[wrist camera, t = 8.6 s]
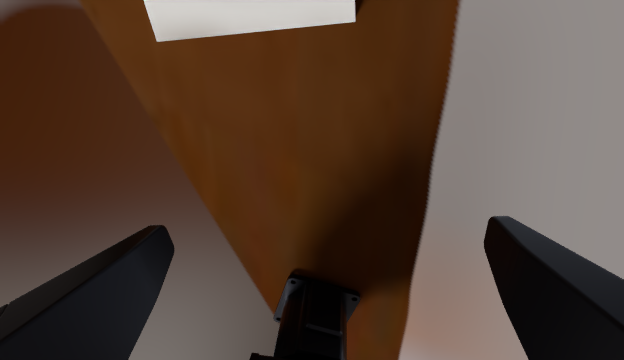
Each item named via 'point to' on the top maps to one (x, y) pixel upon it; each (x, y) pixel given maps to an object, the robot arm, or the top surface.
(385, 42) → the top surface
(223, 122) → the top surface
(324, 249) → the top surface
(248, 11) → the white block
